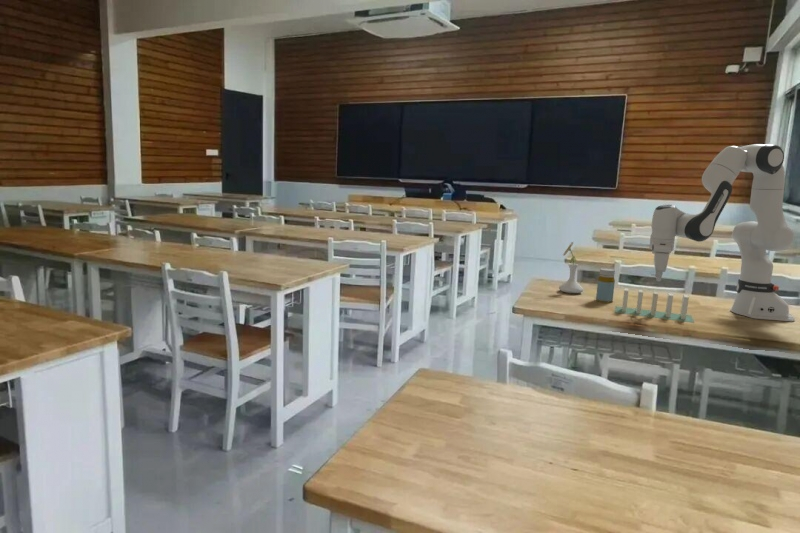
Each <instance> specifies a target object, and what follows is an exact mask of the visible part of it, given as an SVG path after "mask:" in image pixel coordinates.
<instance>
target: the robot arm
mask: <svg viewBox="0 0 800 533" xmlns="http://www.w3.org/2000/svg"><path fill="white" fill-rule="evenodd" d="M784 161H785V153H784V151H783V148H782V147H781V146H779V145H776V144H772V143H766V144H763V143H753V144H749V145H748V144H747V145H739V146H736V145H729V146H726V147H725V148H723V149H722V150H721V151H720V152H719V153H718V154H717V155H716V156H715V157H714V158H713V159H712V161H711V162H710V164H708V166H707V167H706V169H704V172H703V173H702V176H701V184H702V186H703V187H704V188H705V189H706V190H707V191H708V192H709V193H710V197H709V199H708V201H707V202H706V204H705V206H704V207H703V209H702V211H701V212H699V213H697V214H693V213H691V214H690V213H687V212H686V211H685V212H684V211H682V210H680V208H678V207H677V206H676V205H675V204H662V205H657V206H656V207H655V209H654V211H653V214H652V219H651V234H650V237H649V247H648V249H649V250H651V252H652V254H653V255H654V256H653V264H654V270H655V274H654V276H655V278H656V279H655V280H656V282H660V283H661V282H662V277H663V273H665V272H666V270H667V268H668V262H669V260H670V254H672V252H673V251H674V249H675V242H676V241H675V238H676V237H679V238H683V239H688V240H692V241H695V242H698V243H700V242H704V241H706V240H708V239H710V237H711V236H712V234H713V232H714V230H715V227H716V225H717V222H718V219H719V218H720V216H721V214H722V212H723V210H724V208H726V205H727V203H728V201H729V200H730V197H731V195H732V192H733V183H734V182H735V181H736V179H737V177H738V176H739V174H740V173H741V172H743V173H752V175H753V179H752V183H751V193H750V200H749V201H750V202H749V208H750V210H751V211H752V212H753V213H754V215H755V217H756V221H753V220H752V221H751V220H750V221H743V222H739V223H736V225H735V226H734V228H733V229H732V239H733V240H734V242H735V243H736V244H737V246H738V248H739V252H740V260H741V263H740V264H741V266H740V272H739V273H740V274H739V278H738V280H737V283H736V284H737V285H736V294H735V298H734V301H733V304H732V306H731V308H730V312H732V313H733V314H737V315H741V316H743V317H747V318H751V319H755V320H756V319H757V320H770V321H780V322H781V321H782V322H794V321H795V316H794V315H793V314H790V313H789V312H790V310H789V309H790V308H789V304H788V302H786V301H785V300H784V299H783V298H782V297H781V296H780V295H778V294H777V293H776V292H777V291H779V290H780V286H778V285H775V284H774V283H772V276H773V271H774V263H773V262H772V261H771V259H770V258H769V256H768V253H767V251H769V252H780V251H782V252H783V251H786V250H788V249H790V248H791V247H792V245H793V243H794V241H795V233H794V231H793V229H791V228H790V227H789V226H788V223H787V221H786V218H785V216H784V211H783V210H784V208H783V207H784V206H783V205H784V204H783V203H784V193H785V184H786V183H785V182H786V177H785V176H786V174H785V167H784V165H783V163H784Z"/></svg>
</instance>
